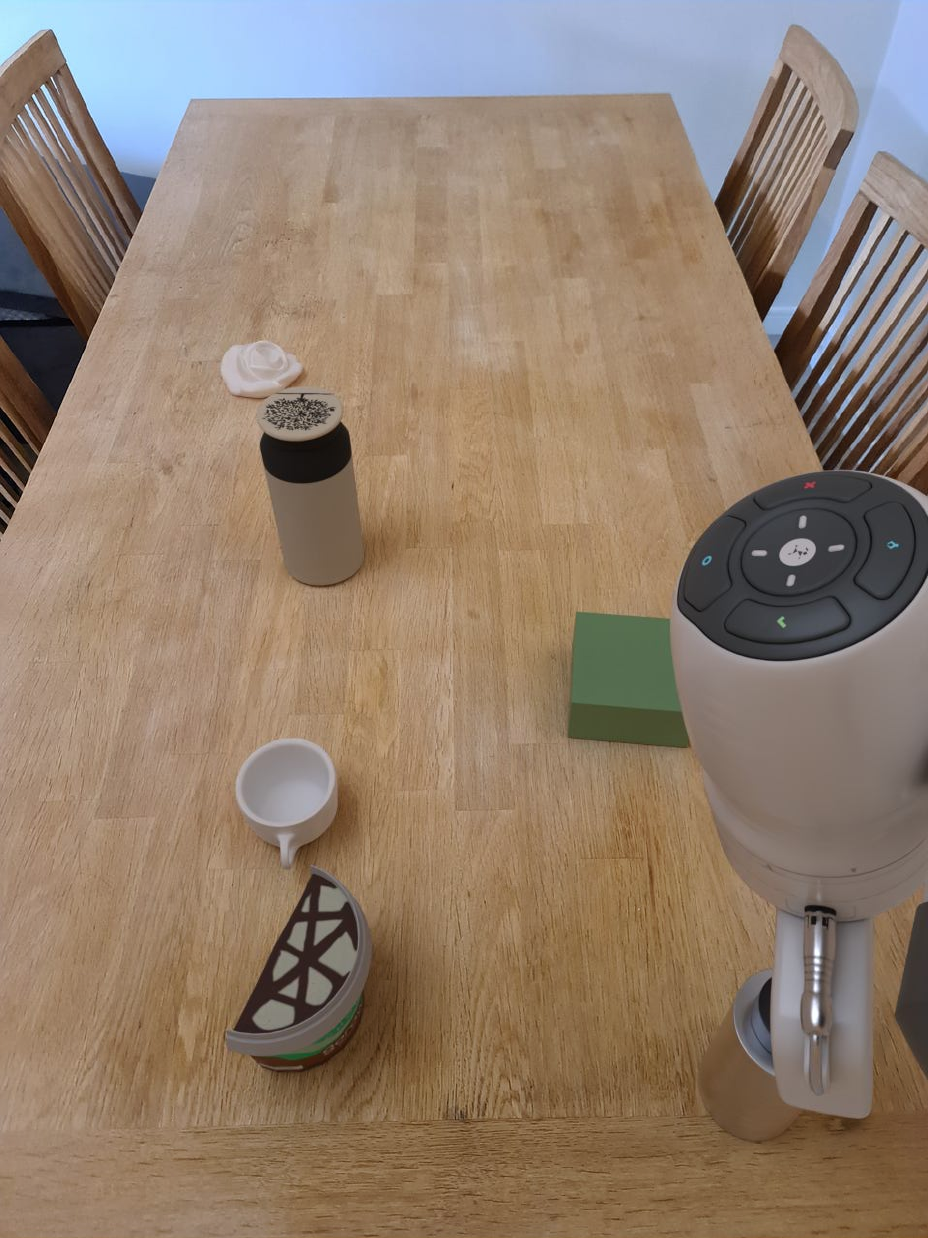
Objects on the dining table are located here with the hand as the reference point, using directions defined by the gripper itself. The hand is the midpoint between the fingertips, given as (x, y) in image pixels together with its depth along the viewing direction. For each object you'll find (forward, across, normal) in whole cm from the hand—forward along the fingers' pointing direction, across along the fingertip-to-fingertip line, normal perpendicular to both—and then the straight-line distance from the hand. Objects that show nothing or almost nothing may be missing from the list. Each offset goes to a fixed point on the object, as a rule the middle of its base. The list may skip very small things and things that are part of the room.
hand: (836, 921), depth 49 cm
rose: (+11, +63, +67) cm, 93 cm away
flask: (+20, -5, +6) cm, 21 cm away
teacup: (+11, +6, +41) cm, 43 cm away
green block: (+20, +25, +19) cm, 37 cm away
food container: (+11, -7, +33) cm, 35 cm away
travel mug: (+12, +35, +49) cm, 62 cm away
